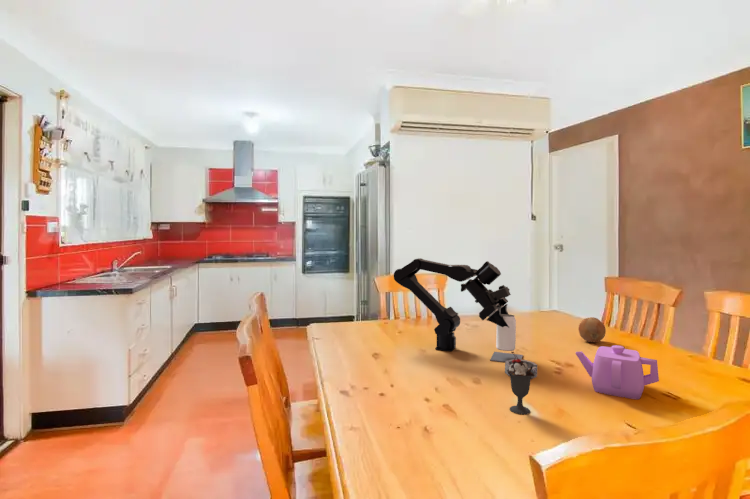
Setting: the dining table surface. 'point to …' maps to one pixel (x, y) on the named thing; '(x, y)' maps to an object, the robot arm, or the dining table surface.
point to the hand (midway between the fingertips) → (510, 326)
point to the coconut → (592, 329)
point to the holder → (529, 363)
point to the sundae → (520, 383)
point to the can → (506, 334)
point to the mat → (504, 357)
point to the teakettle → (619, 371)
